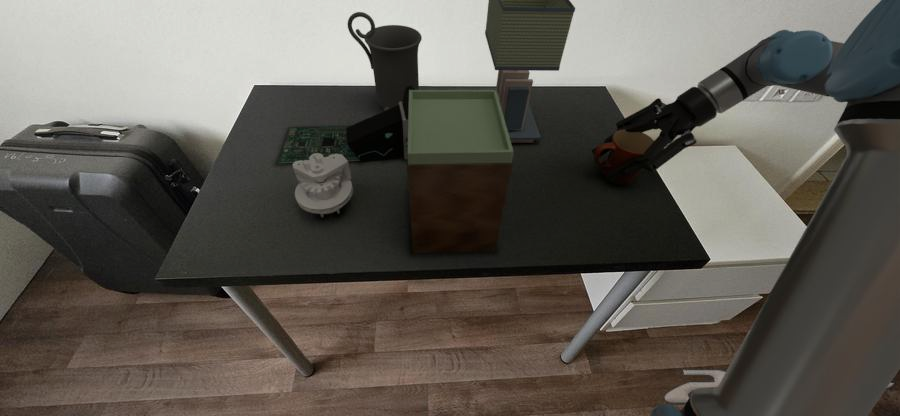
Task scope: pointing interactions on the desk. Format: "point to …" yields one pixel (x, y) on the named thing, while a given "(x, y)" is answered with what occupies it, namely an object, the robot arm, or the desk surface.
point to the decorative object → (382, 133)
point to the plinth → (456, 205)
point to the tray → (457, 128)
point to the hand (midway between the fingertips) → (601, 166)
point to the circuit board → (316, 143)
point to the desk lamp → (525, 54)
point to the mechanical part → (323, 183)
